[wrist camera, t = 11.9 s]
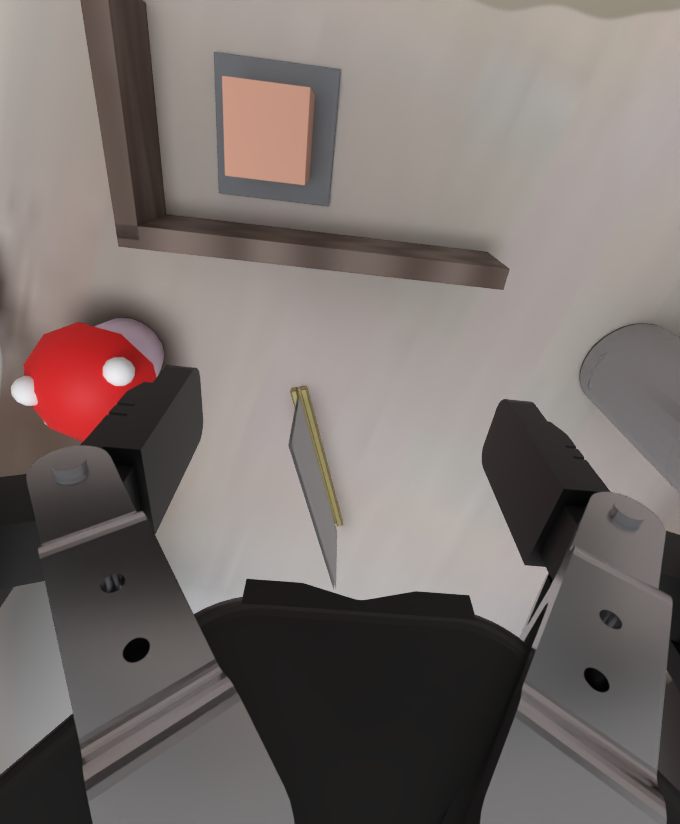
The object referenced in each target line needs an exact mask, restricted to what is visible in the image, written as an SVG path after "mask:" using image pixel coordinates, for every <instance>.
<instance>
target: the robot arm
mask: <svg viewBox="0 0 680 824" xmlns="http://www.w3.org/2000/svg"><path fill="white" fill-rule="evenodd" d="M580 383H581V388H582V390H583V392H584V394H585V395H586V396H587V397H588V398H589V399H590V400H591V401H592V402H593V403H594V404H595V405H596V406H597V407H598V408H599V410H600V411H601V412H602V413H603V414H604V415H605V416H606V417H607V418H608V419H609V420H610V421H611V423H612V424H613V425H614V426H615V427H616V428H617V429H618V430H619V431H620V432H621V433H622V434H623V435H624V436H625V437H626V438H627V439H628V440H629V441H630V442H631V443H632V445H633V446H634V447H635V448H636V449H637V450H638V451H639V452H640V453H641V454H642V455H643V456H644V457H645V458H646V459H647V460H648V461H649V462H650V463H651V464H652V465H653V467H654V468H655V469H656V470H657V471H658V472H659V473H660V474H661V475H662V476H663V477H664V478H665V479H666V480H667V481H668V482H669V483H670V484H671V485H672V486H673V487H674V488H675V489H676V490H677V491H678V492H679V494H680V338H679V337H677V336H676V335H674V334H672V333H670V332H669V331H667V330H665V329H664V328H661V327H659V326H656V325H651V324H635V325H631V326H627V327H623V328H621V329H619V330H617V331H614V332H613V333H611V334H609V335H608V336H606V337H605V338H603V339H602V340H601V341H600V342H599V343H598V344H597V345H595V346H594V348H593V349H592V350H591V351H590V353H589V354H588V355H587V357H586V359H585V361H584V363H583V366H582V369H581V373H580ZM202 429H203V412H202V398H201V383H200V374H199V371H198V369H197V368H191V367H181V366H171V365H167V366H165V367H164V369H163V370H162V371H161V373H160V374H159V375H158V376H157V378H156V379H155V380H154V381H153V383H152V382H143V383H141V384H139V385H137V386H135V387H133V388H132V389H130V390H128V391H127V392H126V393H125V394H124V395H123V396H122V397H121V399H120V400H119V401H118V402H117V405H115V406H114V407H113V408H112V409H111V410H110V411H109V415H106V416H105V417H104V418H103V419H102V421H101V422H100V423H99V424H98V425H97V426H96V427H95V429H94V430H93V431H92V432H91V433H90V434H89V436H88V437H87V438H86V439H85V440H84V441H83V443H82V444H81V445H80V446H71V447H66V448H62V449H59V450H56V451H53V452H51V453H49V454H47V455H45V456H43V457H41V458H40V459H38V460H37V461H36V462H35V463H33V465H32V466H31V467H30V468H29V470H28V472H27V474H23V475H15V476H6V477H0V607H1V605H2V604H3V602H4V601H5V599H6V598H7V596H8V595H9V593H10V592H11V590H12V589H13V587H15V586H20V585H25V584H30V583H35V582H41V581H45V585H46V589H47V594H48V599H49V604H50V608H51V613H52V618H53V622H54V627H55V632H56V636H57V641H58V645H59V650H60V655H61V659H62V664H63V668H64V673H65V678H66V683H67V687H68V692H69V697H70V701H71V706H72V710H73V714H72V715H70V716H69V717H68V718H67V719H66V720H64V721H63V722H62V723H61V724H60V725H58V726H57V727H56V728H55V729H54V730H53V731H51V732H50V733H49V734H48V735H47V736H45V737H44V738H43V739H42V740H41V741H40V742H38V743H37V744H36V745H35V746H34V747H33V748H31V749H30V750H29V751H28V752H27V753H25V754H24V755H23V756H22V757H21V758H19V759H18V760H17V761H16V762H15V763H14V764H12V765H11V766H10V767H9V768H8V769H6V770H5V771H4V772H3V773H2V774H1V775H0V824H680V791H679V790H678V789H677V788H676V787H675V786H674V785H673V784H672V783H671V782H670V781H669V780H668V779H667V778H666V777H665V776H664V775H662V773H661V772H660V771H658V770H657V765H658V756H659V755H658V754H659V745H660V734H661V724H662V712H663V702H664V691H665V681H666V670H667V671H668V672H669V674H670V676H671V678H672V679H673V681H674V683H675V685H676V687H677V688H678V690H679V692H680V535H678V534H675V533H671V532H668V531H666V530H665V527H664V525H663V523H662V521H661V520H660V519H659V517H658V516H657V515H656V514H655V513H654V512H652V511H651V510H650V509H649V508H647V507H646V506H644V505H643V504H641V503H640V502H638V501H636V500H634V499H632V498H629V497H627V496H624V495H621V494H618V493H613V492H610V491H609V489H608V488H607V487H606V485H605V484H604V483H603V481H602V480H601V479H600V477H599V476H598V475H597V474H596V472H595V471H594V470H593V468H592V467H591V466H590V464H589V463H588V462H587V460H584V457H583V455H582V454H581V453H580V451H579V450H578V449H576V446H575V445H574V443H573V442H572V441H571V439H570V438H569V437H568V436H567V434H566V433H564V432H563V431H562V430H560V429H559V428H558V427H556V426H555V425H554V424H552V423H551V422H547V420H546V419H545V418H544V416H543V415H542V414H541V412H540V411H539V409H538V408H537V407H536V405H535V404H534V403H533V402H528V401H517V400H507V399H503V400H502V401H501V402H500V403H499V405H498V407H497V409H496V412H495V415H494V418H493V421H492V423H491V426H490V429H489V432H488V435H487V437H486V440H485V443H484V446H483V451H482V465H483V469H484V471H485V473H486V476H487V478H488V480H489V483H490V485H491V487H492V490H493V492H494V494H495V497H496V499H497V501H498V504H499V506H500V508H501V511H502V513H503V515H504V518H505V520H506V522H507V525H508V527H509V529H510V532H511V534H512V536H513V539H514V541H515V543H516V546H517V548H518V550H519V553H520V555H521V557H522V560H523V562H524V564H525V565H530V566H542V567H546V568H547V570H548V572H549V573H548V574H547V576H546V578H545V580H544V582H543V584H542V586H541V588H540V591H539V593H538V595H537V598H536V600H535V602H534V605H533V607H532V609H531V612H530V614H529V616H528V619H527V621H526V623H525V626H524V628H523V630H522V633H521V635H520V637H519V638H518V637H517V636H515V635H514V634H513V633H511V632H510V631H508V630H507V629H505V628H503V627H501V626H499V625H497V624H496V623H494V622H492V621H489V620H487V619H485V618H482V617H480V616H477V615H474V611H473V607H472V604H471V600H470V597H469V595H456V594H443V593H429V592H410V593H404V594H398V595H392V596H386V597H381V598H375V599H369V600H355V599H352V598H349V597H345V596H342V595H339V594H336V593H333V592H329V591H326V590H323V589H320V588H317V587H314V586H310V585H307V584H304V583H295V582H282V581H268V580H255V579H247V580H246V585H245V589H244V594H243V597H239V598H234V599H230V600H226V601H223V602H219V603H217V604H214V605H212V606H209V607H207V608H205V609H203V610H201V611H199V612H197V613H195V614H193V612H192V610H191V608H190V606H189V604H188V602H187V600H186V598H185V596H184V594H183V592H182V590H181V587H180V585H179V583H178V581H177V579H176V577H175V575H174V573H173V571H172V569H171V567H170V565H169V563H168V561H167V559H166V557H165V555H164V552H163V550H162V548H161V546H160V544H159V542H158V540H157V538H156V536H155V534H156V532H157V530H158V528H159V525H160V523H161V521H162V519H163V517H164V515H165V513H166V511H167V509H168V507H169V505H170V502H171V500H172V498H173V496H174V494H175V492H176V490H177V488H178V486H179V484H180V482H181V479H182V477H183V475H184V473H185V471H186V469H187V467H188V465H189V463H190V461H191V459H192V456H193V454H194V452H195V450H196V448H197V446H198V444H199V442H200V439H201V435H202Z"/></svg>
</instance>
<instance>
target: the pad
mask: <svg viewBox="0 0 680 824" xmlns="http://www.w3.org/2000/svg"><path fill="white" fill-rule="evenodd" d="M214 69H215V97H216V125H217V154H218V182H219V193H222V194H230V195H238V196H247V197H255V198H263V199H272V200H280V201H288V202H297V203H305V204H313V205H322V206H329V197H330V186H331V174H332V162H333V151H334V139H335V128H336V116H337V105H338V93H339V81H340V69H334V68H327V67H320V66H313V65H305V64H298V63H291V62H283V61H276V60H269V59H262V58H254V57H247V56H240V55H232V54H225V53H218V52H214ZM222 76H228V77H236V78H243V79H251V80H258V81H266V82H273V83H281V84H288V85H296V86H303V87H310V88H311V90H312V91H313V93H314V94H315V103H314V120H313V136H312V152H311V168H310V180H309V181H308V182H307V183H306V184H305V185H298V184H290V183H282V182H274V181H265V180H257V179H249V178H241V177H232V176H225V160H224V126H223V92H222Z"/></svg>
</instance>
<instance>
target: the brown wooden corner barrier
mask: <svg viewBox="0 0 680 824" xmlns="http://www.w3.org/2000/svg"><path fill="white" fill-rule="evenodd" d="M81 7H82V13H83V20H84V26H85V32H86V39H87V45H88V52H89V58H90V65H91V71H92V78H93V84H94V91H95V97H96V104H97V110H98V116H99V123H100V129H101V136H102V142H103V149H104V155H105V162H106V168H107V175H108V181H109V187H110V194H111V200H112V207H113V213H114V220H115V226H116V233H117V239H118V246H119V247H128V248H137V249H145V250H154V251H163V252H172V253H181V254H190V255H199V256H208V257H216V258H225V259H234V260H243V261H252V262H261V263H270V264H279V265H288V266H296V267H305V268H314V269H323V270H332V271H341V272H350V273H359V274H367V275H376V276H385V277H394V278H403V279H412V280H421V281H430V282H438V283H447V284H456V285H465V286H474V287H483V288H492V289H501V290H503V289H504V286H505V283H506V279H507V276H508V273H509V270H510V269H509V268H508V267H506V266H505V265H504V264H502V263H501V262H500V261H498V260H497V259H496V258H495V257H493V256H492V255H491V254H489V253H488V252H483V251H474V250H465V249H457V248H448V247H440V246H431V245H423V244H414V243H406V242H397V241H389V240H380V239H371V238H363V237H354V236H346V235H337V234H329V233H320V232H312V231H303V230H295V229H286V228H278V227H269V226H260V225H252V224H243V223H235V222H226V221H218V220H209V219H201V218H192V217H184V216H175V215H166V211H165V200H164V190H163V179H162V169H161V159H160V148H159V138H158V127H157V117H156V107H155V96H154V86H153V75H152V65H151V55H150V44H149V34H148V23H147V13H146V3H145V2H143V1H142V0H81Z"/></svg>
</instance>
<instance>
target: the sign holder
mask: <svg viewBox="0 0 680 824" xmlns="http://www.w3.org/2000/svg"><path fill="white" fill-rule="evenodd" d="M290 392H291V396H292V399H293V403H294V406H295V412H294V417H293V423H292V428H291V434H290V439H289V449H290V452H291V455H292V458H293V461H294V464H295V468H296V471H297V474H298V477H299V480H300V484H301V487H302V490H303V493H304V496H305V499H306V503H307V506H308V509H309V512H310V515H311V519H312V522H313V525H314V528H315V531H316V534H317V538H318V541H319V544H320V547H321V550H322V554H323V557H324V560H325V563H326V566H327V569H328V573H329V576H330V579H331V582H332V585H333V589H334V585H335V588H336V557H337V530H336V526H335V523H337V526H342V525H343V522H342V518H341V514H340V510H339V506H338V503H337V499H336V495H335V491H334V487H333V483H332V480H331V476H330V472H329V468H328V464H327V461H326V457H325V453H324V449H323V445H322V442H321V438H320V434H319V430H318V426H317V423H316V419H315V415H314V411H313V407H312V404H311V400H310V396H309V392H308V388H307V386H301V387H299V388H297V387H295V388H291V391H290Z"/></svg>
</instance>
